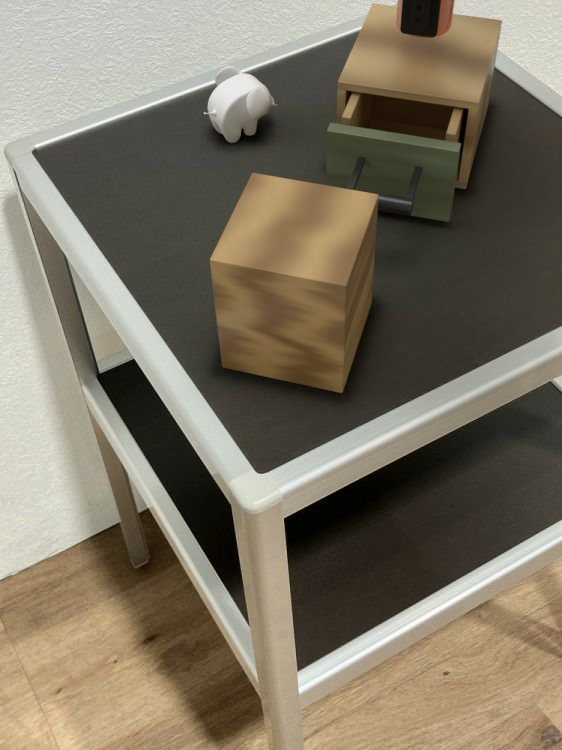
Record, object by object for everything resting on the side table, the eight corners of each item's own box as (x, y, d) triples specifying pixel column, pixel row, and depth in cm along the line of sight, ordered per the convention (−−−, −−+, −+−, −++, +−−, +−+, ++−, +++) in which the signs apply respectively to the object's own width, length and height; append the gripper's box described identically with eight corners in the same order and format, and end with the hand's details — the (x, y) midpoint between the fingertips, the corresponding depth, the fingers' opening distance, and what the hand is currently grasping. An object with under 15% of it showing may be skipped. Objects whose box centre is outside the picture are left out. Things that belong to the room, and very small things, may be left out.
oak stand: (371, 304, 82) (378, 193, 72) (342, 393, 76) (346, 285, 66) (259, 282, 84) (252, 172, 74) (221, 367, 78) (209, 259, 68)
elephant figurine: (292, 133, 97) (291, 81, 92) (224, 162, 94) (220, 110, 90) (256, 100, 101) (253, 49, 96) (189, 128, 98) (183, 76, 93)
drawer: (436, 265, 83) (446, 195, 77) (309, 241, 86) (308, 171, 79) (472, 138, 94) (482, 68, 88) (358, 121, 96) (361, 51, 90)
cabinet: (465, 189, 91) (479, 102, 83) (335, 167, 93) (337, 81, 86) (488, 105, 99) (502, 19, 92) (368, 87, 101) (372, 2, 94)
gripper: (420, -253, 78) (403, -36, 92) (371, -165, 68) (361, 63, 82) (513, -245, 76) (482, -26, 91) (478, -155, 66) (449, 76, 80)
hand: (425, 14), depth 86 cm, fingers closed on spice jar, 5 cm apart
